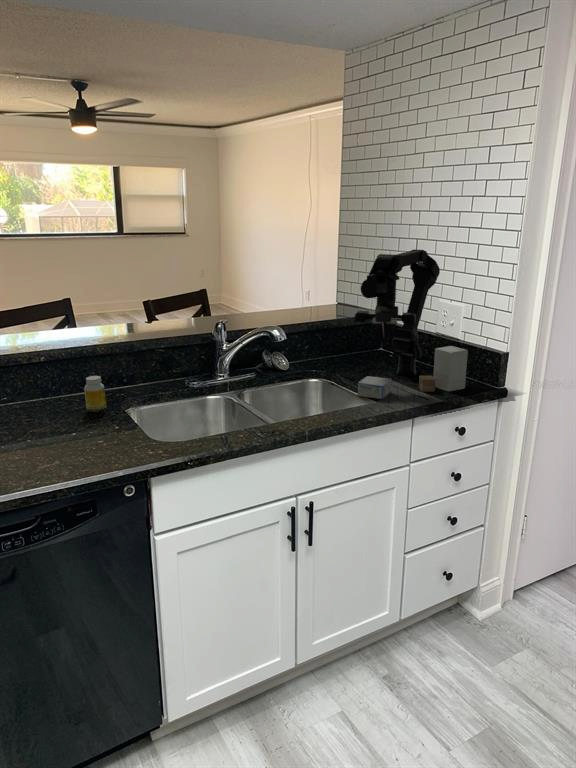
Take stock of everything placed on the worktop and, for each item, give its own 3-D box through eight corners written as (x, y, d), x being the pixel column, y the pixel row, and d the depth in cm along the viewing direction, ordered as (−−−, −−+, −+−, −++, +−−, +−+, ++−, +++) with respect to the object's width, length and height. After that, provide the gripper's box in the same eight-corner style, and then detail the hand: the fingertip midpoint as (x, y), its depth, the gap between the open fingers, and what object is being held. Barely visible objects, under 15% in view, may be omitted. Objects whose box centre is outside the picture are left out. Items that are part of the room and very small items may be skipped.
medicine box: (366, 388, 179) (357, 396, 172) (367, 375, 178) (357, 382, 171) (391, 392, 176) (382, 400, 169) (391, 378, 175) (382, 385, 167)
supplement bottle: (85, 408, 162) (81, 376, 159) (104, 405, 164) (101, 374, 162) (88, 414, 157) (85, 381, 155) (108, 411, 160) (105, 378, 157)
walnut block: (418, 387, 180) (419, 375, 179) (431, 387, 180) (432, 375, 179) (421, 391, 176) (422, 379, 175) (434, 391, 176) (435, 379, 175)
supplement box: (465, 388, 179) (469, 349, 176) (448, 392, 176) (451, 352, 172) (449, 382, 186) (452, 345, 182) (431, 386, 182) (434, 347, 178)
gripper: (352, 297, 172) (351, 347, 176) (415, 299, 168) (412, 351, 172) (357, 293, 182) (356, 340, 187) (417, 295, 178) (413, 343, 182)
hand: (383, 344), depth 182 cm, fingers closed
